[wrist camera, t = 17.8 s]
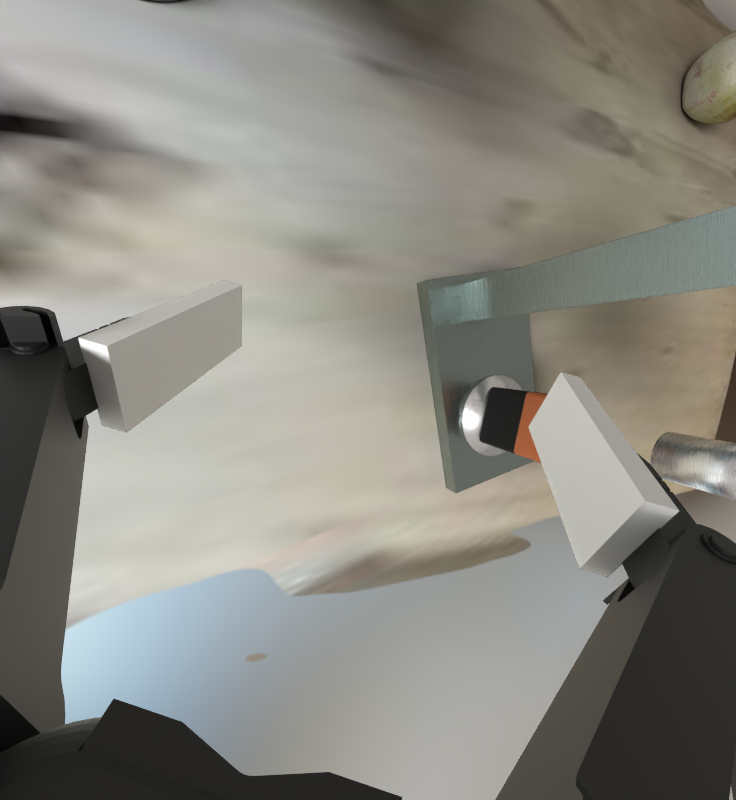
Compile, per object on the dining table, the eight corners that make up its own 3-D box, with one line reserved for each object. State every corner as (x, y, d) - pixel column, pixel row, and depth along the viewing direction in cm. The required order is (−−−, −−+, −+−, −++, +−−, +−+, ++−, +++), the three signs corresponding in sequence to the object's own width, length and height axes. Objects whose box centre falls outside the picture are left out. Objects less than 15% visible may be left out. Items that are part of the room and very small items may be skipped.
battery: (476, 441, 41) (548, 466, 32) (488, 385, 41) (564, 395, 32) (503, 444, 43) (578, 469, 34) (514, 391, 43) (594, 402, 34)
